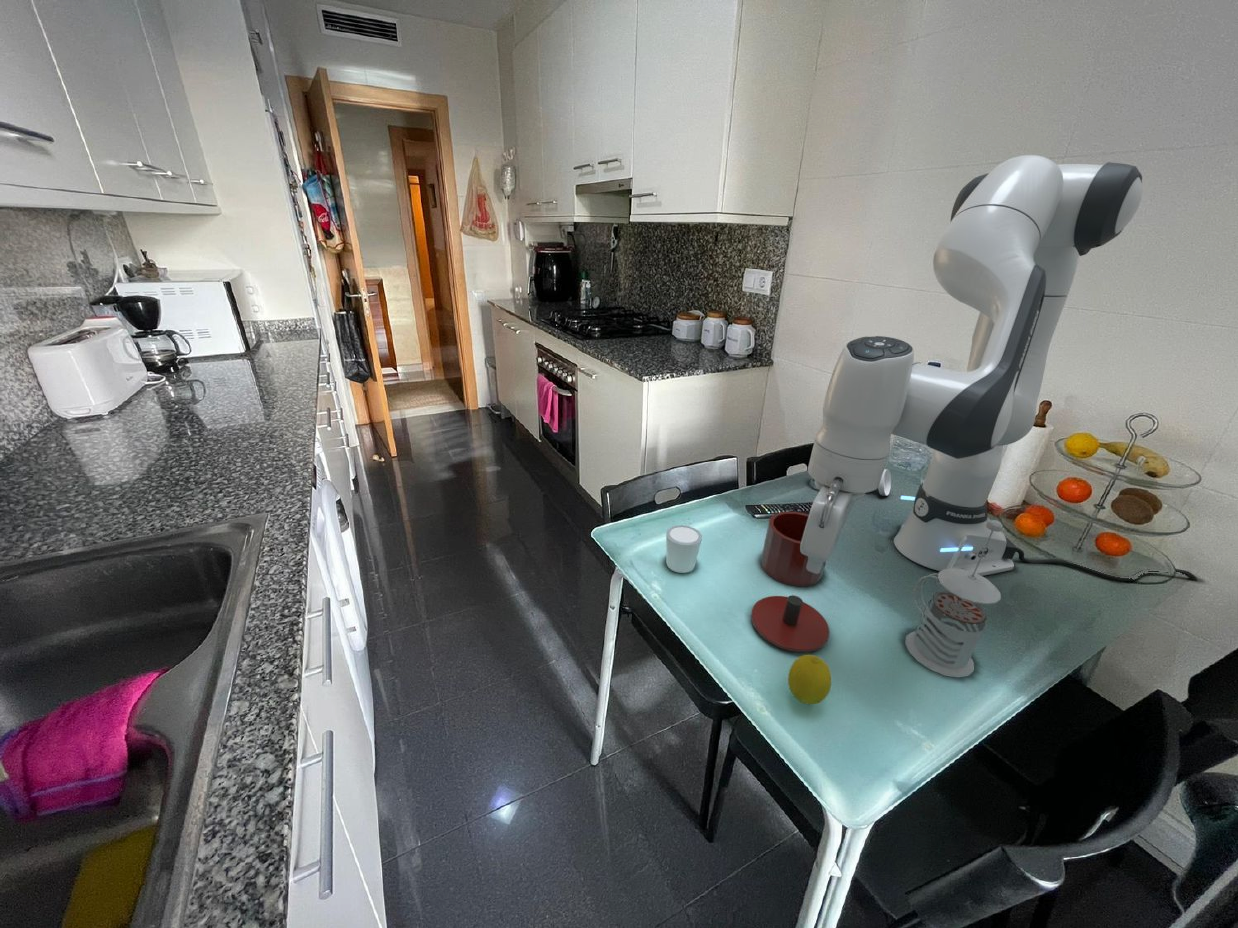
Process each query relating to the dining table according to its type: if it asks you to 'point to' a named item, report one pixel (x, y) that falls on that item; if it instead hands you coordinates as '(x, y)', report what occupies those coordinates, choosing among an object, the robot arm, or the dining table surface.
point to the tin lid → (790, 623)
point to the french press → (960, 603)
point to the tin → (787, 550)
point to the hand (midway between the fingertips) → (821, 553)
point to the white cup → (682, 548)
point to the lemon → (809, 679)
